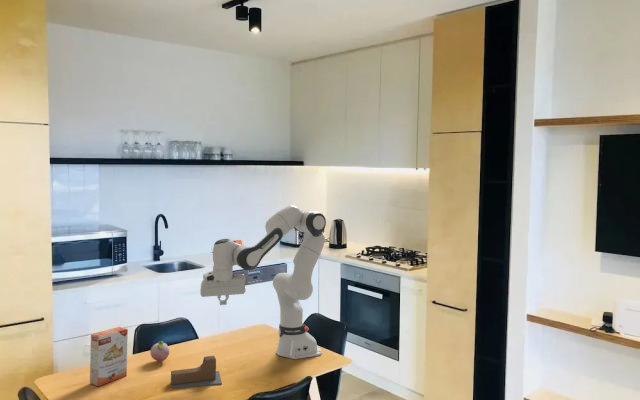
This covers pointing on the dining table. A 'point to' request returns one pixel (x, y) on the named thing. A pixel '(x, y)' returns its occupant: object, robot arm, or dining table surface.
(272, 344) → the dining table surface
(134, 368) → the dining table surface
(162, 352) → the turnip
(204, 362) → the wooden block
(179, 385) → the charcoal rubber mat
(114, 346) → the cracker box
